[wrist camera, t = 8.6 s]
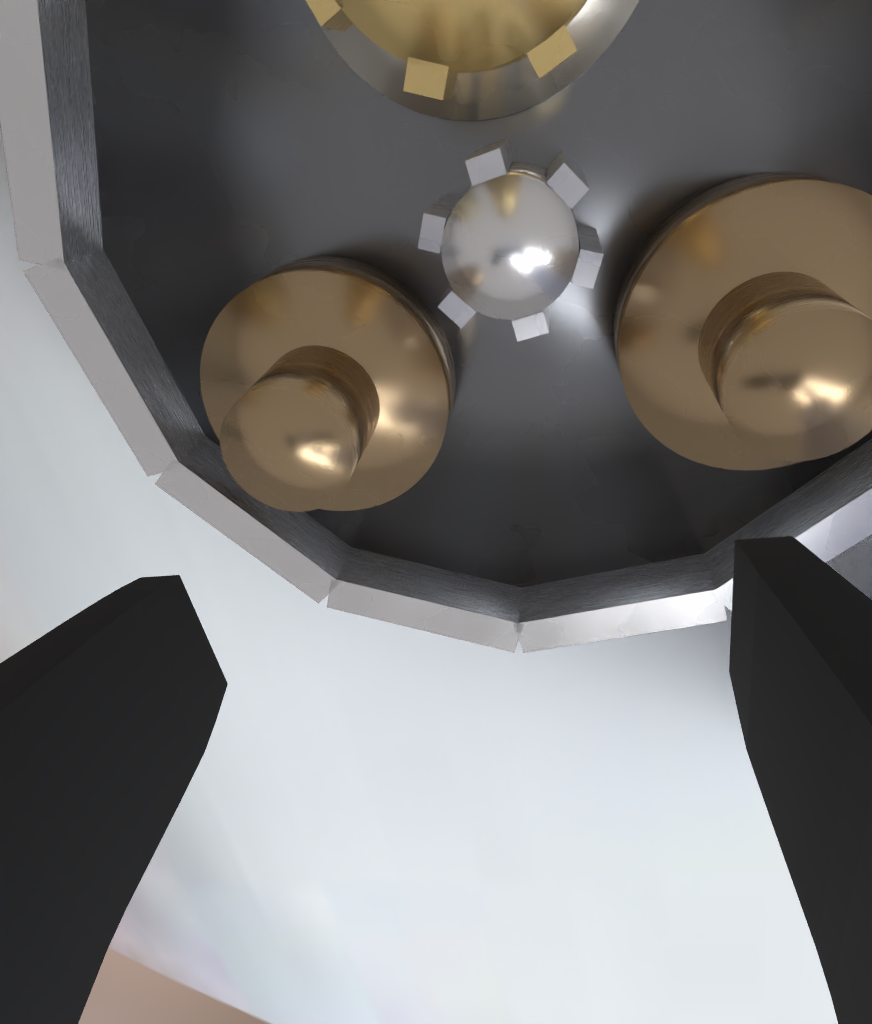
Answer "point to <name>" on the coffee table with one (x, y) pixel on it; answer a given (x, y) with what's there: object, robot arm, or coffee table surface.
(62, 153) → the carrier
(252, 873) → the coffee table surface
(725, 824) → the coffee table surface
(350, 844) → the coffee table surface
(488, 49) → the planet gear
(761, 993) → the coffee table surface
